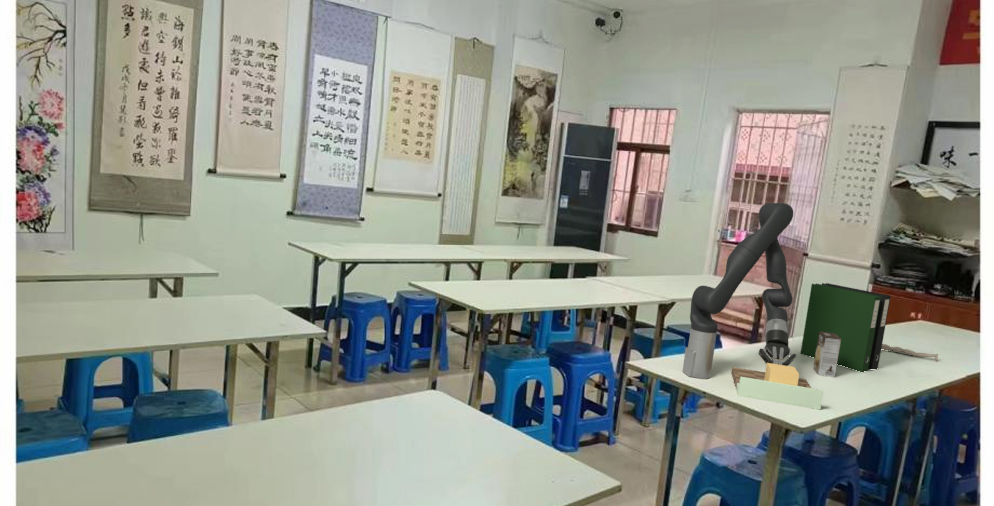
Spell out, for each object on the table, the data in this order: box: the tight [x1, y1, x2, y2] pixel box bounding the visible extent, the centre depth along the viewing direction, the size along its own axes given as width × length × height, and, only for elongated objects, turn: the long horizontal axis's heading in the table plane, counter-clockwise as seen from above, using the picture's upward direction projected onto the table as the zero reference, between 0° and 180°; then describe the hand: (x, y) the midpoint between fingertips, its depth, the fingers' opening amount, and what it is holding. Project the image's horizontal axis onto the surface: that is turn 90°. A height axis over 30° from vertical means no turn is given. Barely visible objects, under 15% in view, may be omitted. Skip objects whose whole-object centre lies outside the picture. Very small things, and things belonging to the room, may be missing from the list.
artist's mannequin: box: [881, 343, 939, 362], centre depth 317 cm, size 28×4×30 cm
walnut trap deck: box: [730, 366, 812, 388], centre depth 236 cm, size 27×26×2 cm
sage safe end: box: [735, 377, 824, 410], centre depth 225 cm, size 7×26×6 cm, turn 75°
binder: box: [800, 282, 892, 373], centre depth 287 cm, size 27×15×32 cm, turn 36°
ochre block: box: [764, 363, 800, 386], centre depth 227 cm, size 9×9×8 cm
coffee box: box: [812, 332, 841, 378], centre depth 265 cm, size 9×6×16 cm
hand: (777, 375), depth 232 cm, fingers closed
